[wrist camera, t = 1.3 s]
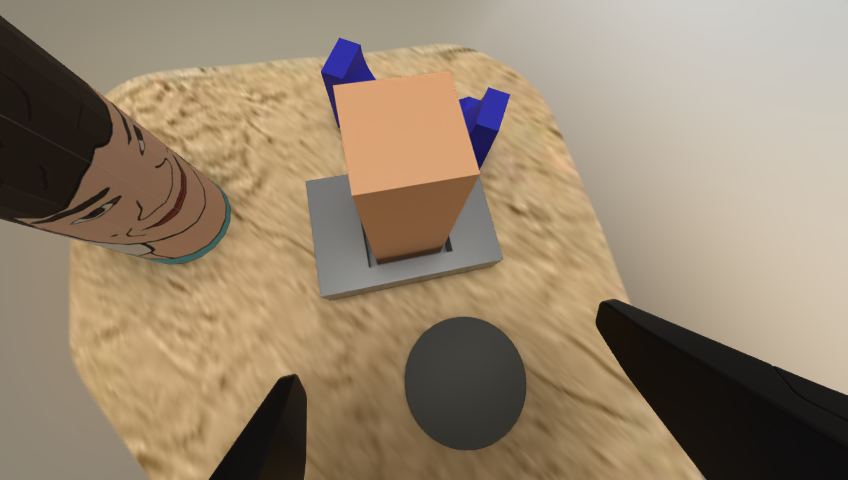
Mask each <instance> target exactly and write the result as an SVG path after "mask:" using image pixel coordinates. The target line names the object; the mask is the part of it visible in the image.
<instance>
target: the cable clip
mask: <svg viewBox="0 0 848 480" xmlns="http://www.w3.org/2000/svg"><path fill="white" fill-rule="evenodd" d="M321 74H322V77H323V80H324V83H325V86H326V90H327V93H328V96H329V99H330V103H331V106H332V109H333V112H334V115H335V119H336V122H337V125H338V128H340V124H339V118H338V112H337V106H336V100H335V94H334V89H333V85H341V84H349V83H357V82H365V81H373V80H376V79H375V78H374V76H373V75H372V73H371V72H370V70H369V68H368V66H367V64H366V62H365V60H364V57H363V54H362V50H361V45H359V44H357V43H354V42H351V41H347V40H344V39H341V38H339V40H338V41H337V43H336V45H335V47H334V49H333V50H332V52H331V54H330V56H329V58H328V59H327V61H326V63H325V65H324V67H323V68H322V70H321ZM509 96H510V94H507V93H504V92H501V91H498V90H495V89H492V88H489V87H488V90H487V92H486V94H485V95H484V97H483V98H482V99H481V101H480V100H477V99H474V98H471V97H467V98H464V99H459V103H460V106H461V110H462V113H463V117H464V120H465V124H466V127H467V130H468V134H469V137H470V141H471V144H472V147H473V151H474V154H475V158H476V161H477V165H478V168H479V170H480V168H481V166H482V164H483V162H484V160H485V158H486V156H487V154H488V152H489V150H490V148H491V145H492V143H493V141H494V139H495V137H496V135H497V133H498V131H499V128H500V125H501V122H502V119H503V115H504V112H505V109H506V106H507V103H508V99H509Z"/></svg>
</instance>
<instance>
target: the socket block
mask: <svg viewBox="0 0 848 480" xmlns="http://www.w3.org/2000/svg"><path fill="white" fill-rule="evenodd" d="M306 188H307V196H308V204H309V211H310V219H311V226H312V234H313V241H314V249H315V257H316V264H317V272H318V279H319V287H320V295H321V297H322V298H325V299H327V300H334V299H339V298H344V297H348V296H353V295H358V294H363V293H367V292H372V291H377V290H382V289H387V288H391V287H396V286H401V285H406V284H410V283H415V282H420V281H425V280H430V279H434V278H439V277H444V276H449V275H453V274H458V273H463V272H468V271H473V270H477V269H482V268H487V267H492V266H494V265H495V264H497V263H498V262H500V261H501V260H503V256H502V253H501V249H500V246H499V243H498V239H497V236H496V232H495V229H494V225H493V222H492V218H491V215H490V212H489V208H488V205H487V201H486V198H485V194H484V191H483V187H482V184H481V181H480V177H478V179H477V181H476V183H475V185H474V187H473V189H472V191H471V193H470V195H469V197H468V199H467V201H466V203H465V205H464V207H463V209H462V211H461V213H460V215H459V217H458V219H457V221H456V223H455V225H454V227H453V228H452V230H451V232H450V234H449V236H448V238H447V240H446V242H445V244H444V246H443V248H442V250H441V252H440V253H435V254H430V255H425V256H420V257H415V258H410V259H405V260H400V261H395V262H390V263H385V264H380V265H377V262H376V259H375V257H374V254H373V251H372V249H371V246H370V243H369V241H368V238H367V235H366V232H365V230H364V227H363V224H362V222H361V219H360V216H359V214H358V211H357V208H356V206H355V203H354V200H353V197H352V194H351V188H350V182H349V176H348V175H341V176H335V177H329V178H323V179H317V180H310V181H306Z"/></svg>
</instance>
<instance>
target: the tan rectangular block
mask: <svg viewBox="0 0 848 480" xmlns="http://www.w3.org/2000/svg"><path fill="white" fill-rule="evenodd" d="M333 89H334V94H335V100H336V106H337V112H338V118H339V124H340V129H341V135H342V141H343V147H344V153H345V159H346V164H347V170H348V176H349V182H350V188H351V194H352V197H353V200H354V203H355V206H356V208H357V211H358V214H359V216H360V219H361V222H362V224H363V227H364V230H365V232H366V235H367V238H368V241H369V243H370V246H371V249H372V251H373V254H374V257H375V259H376V262H377V265H380V264H385V263H390V262H395V261H400V260H405V259H410V258H415V257H420V256H425V255H430V254H435V253H440V252H441V250H442V248H443V246H444V244H445V242H446V240H447V238H448V236H449V234H450V232H451V230H452V228H453V227H454V225H455V223H456V221H457V219H458V217H459V215H460V213H461V211H462V209H463V207H464V205H465V203H466V201H467V199H468V197H469V195H470V193H471V191H472V189H473V187H474V185H475V183H476V181H477V179H478V177H479V175H480V171H479V168H478V165H477V161H476V158H475V154H474V151H473V147H472V144H471V141H470V137H469V134H468V130H467V127H466V124H465V120H464V117H463V113H462V110H461V106H460V103H459V100H458V96H457V93H456V89H455V86H454V82H453V79H452V76H451V72H450V71H445V72H437V73H429V74H421V75H413V76H405V77H397V78H389V79H381V80H373V81H365V82H357V83H349V84H341V85H333Z"/></svg>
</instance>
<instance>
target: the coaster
mask: <svg viewBox="0 0 848 480" xmlns="http://www.w3.org/2000/svg"><path fill="white" fill-rule="evenodd" d="M405 390H406V396H407V400H408V404H409V407H410V409H411V412H412V414H413V416H414V418H415V420H416V421H417V422H418V424H419V425H420V427H421V428H422V429H423V430H424V431H425V432H426V433H427V434H428V435H429V436H430V437H432V438H433V439H434V440H436V441H437V442H439V443H441V444H443V445H445V446H448V447H450V448H454V449H459V450H476V449H480V448H484V447H487V446H489V445H491V444H493V443H495V442H497V441H498V440H500V439H501V438H502V437H504V436H505V435H506V434H507V433H508V432H509V431H510V430H511V428H512V427H513V426H514V424H515V423H516V421H517V419H518V418H519V416H520V413H521V411H522V408H523V405H524V401H525V395H526V375H525V370H524V365H523V362H522V360H521V357H520V355H519V353H518V351H517V349H516V347H515V346H514V344H513V343H512V342H511V340H510V339H509V338H508V337H507V336H506V335H505V334H504V333H503V332H502V331H501V330H500V329H498V328H497V327H495V326H494V325H492V324H490V323H488V322H486V321H483V320H480V319H476V318H471V317H457V318H451V319H448V320H444V321H442V322H440V323H437V324H436V325H434V326H432V327H431V328H430V329H428V330H427V331H426V332H425V333H424V334H423V335H422V336H421V337H420V338H419V339H418V341H417V342H416V344H415V345H414V347H413V349H412V351H411V353H410V356H409V358H408V362H407V366H406V372H405Z"/></svg>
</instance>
